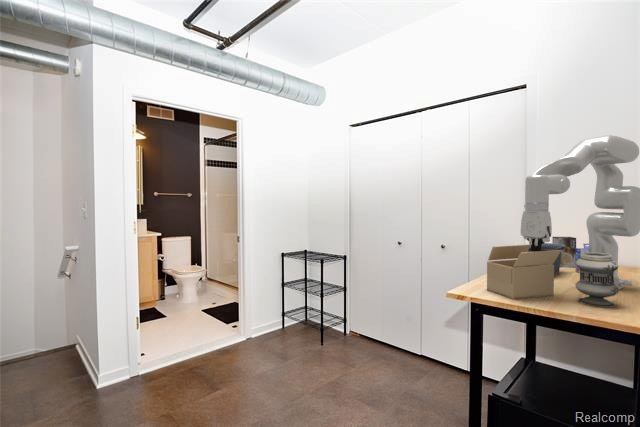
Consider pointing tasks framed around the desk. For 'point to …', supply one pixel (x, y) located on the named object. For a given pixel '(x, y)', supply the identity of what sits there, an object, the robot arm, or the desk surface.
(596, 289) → the apothecary jar
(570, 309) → the desk surface
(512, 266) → the carton
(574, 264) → the coffee box
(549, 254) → the front flap
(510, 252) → the back flap
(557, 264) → the storage bin
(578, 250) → the ink cartridge box
